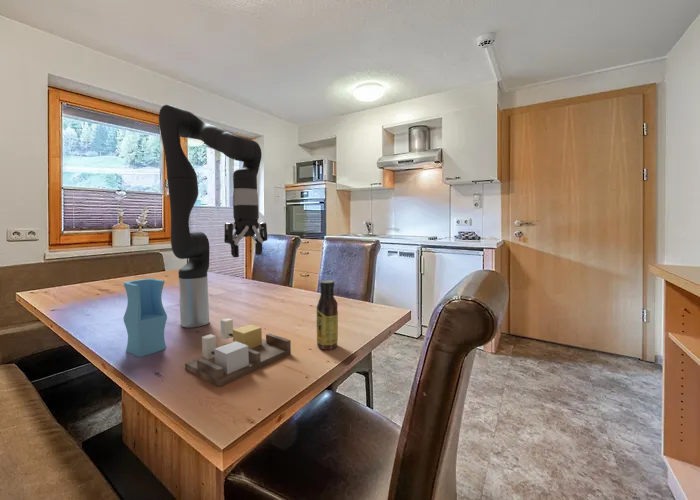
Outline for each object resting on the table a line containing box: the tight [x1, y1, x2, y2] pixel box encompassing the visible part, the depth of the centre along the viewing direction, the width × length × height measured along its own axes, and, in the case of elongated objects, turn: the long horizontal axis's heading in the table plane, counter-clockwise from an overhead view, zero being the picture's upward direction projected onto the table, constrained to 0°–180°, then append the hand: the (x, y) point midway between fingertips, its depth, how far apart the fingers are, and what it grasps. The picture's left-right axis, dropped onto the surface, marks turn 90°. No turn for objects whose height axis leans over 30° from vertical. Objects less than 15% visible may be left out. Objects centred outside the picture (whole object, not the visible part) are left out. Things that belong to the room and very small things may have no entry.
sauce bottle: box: [316, 279, 339, 351], centre depth 94 cm, size 7×6×20 cm
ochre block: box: [220, 317, 263, 349], centre depth 94 cm, size 14×6×6 cm, turn 54°
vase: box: [123, 278, 168, 357], centre depth 92 cm, size 8×8×20 cm
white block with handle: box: [201, 333, 249, 374], centre depth 81 cm, size 14×6×6 cm, turn 54°
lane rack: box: [184, 333, 292, 388], centre depth 85 cm, size 15×22×4 cm
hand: (247, 255), depth 102 cm, fingers open, 8 cm apart
